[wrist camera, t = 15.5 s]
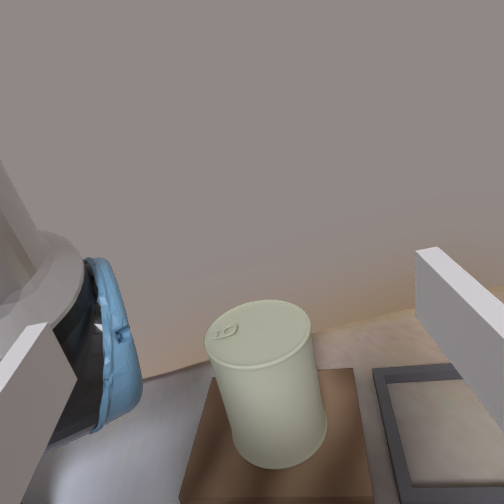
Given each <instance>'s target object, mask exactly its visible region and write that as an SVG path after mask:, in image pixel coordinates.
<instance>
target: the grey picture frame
mask: <svg viewBox="0 0 504 504" xmlns="http://www.w3.org/2000/svg"><path fill="white" fill-rule="evenodd" d="M372 370H373V379H374V383H375V388H376V393H377V397H378V402H379V406H380V411H381V416H382V420H383V425H384V429H385V434H386V438H387V443H388V448H389V452H390V457H391V461H392V466H393V471H394V475H395V480H396V484H397V489H398V493H399V498H400V503H401V504H504V487H439V488H412V484H411V480H410V476H409V472H408V468H407V464H406V460H405V456H404V452H403V448H402V444H401V441H400V437H399V433H398V429H397V425H396V421H395V417H394V413H393V409H392V405H391V401H390V397H389V393H388V389H387V385H386V383H401V382H418V381H435V380H452V379H463V378H462V377H461V375H460V374H459V373H458V371H457V370H456V369H455V367H454V366H453V365H452V363H450V364H435V365H420V366H405V367H390V368H375V369H372Z"/></svg>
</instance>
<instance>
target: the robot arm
mask: <svg viewBox="0 0 504 504" xmlns="http://www.w3.org/2000/svg"><path fill="white" fill-rule="evenodd" d="M415 253H416V254H415V256H416V257H415V259H416V260H415V262H416V264H415V270H416V271H415V274H416V275H415V276H416V277H415V315H416V317H417V318H418V319H419V321H420V322H421V323H422V325H423V326H424V327H425V329H426V330H427V331H428V333H429V334H430V335H431V337H432V338H433V339H434V341H435V342H436V343H437V345H438V346H439V347H440V349H441V350H442V351H443V353H444V354H445V355H446V357H447V358H448V359H449V361H450V362H451V363H452V365H453V366H454V367H455V369H456V370H457V371H458V373H459V374H460V375H461V377H462V378H463V379H464V381H465V382H466V383H467V385H468V386H469V387H470V389H471V390H472V391H473V393H474V394H475V395H476V397H477V398H478V399H479V401H480V402H481V403H482V405H483V406H484V407H485V409H486V410H487V411H488V413H489V414H490V415H491V417H492V418H493V419H494V421H495V422H496V423H497V425H498V426H499V427H500V429H501V430H502V431H503V433H504V304H503V303H502V302H500V301H499V300H498V299H497V298H496V297H495V296H493V295H492V294H491V293H490V292H489V291H488V290H487V289H485V288H484V287H483V286H482V285H481V284H480V283H479V282H477V281H476V280H475V279H474V278H473V277H472V276H471V275H469V274H468V273H467V272H466V271H465V270H464V269H462V268H461V267H460V266H459V265H458V264H457V263H456V262H454V261H453V260H452V259H451V258H450V257H449V256H448V255H446V254H445V253H444V252H443V251H442V250H441V249H439V248H438V247H433V248H428V249H423V250H417V251H415ZM129 330H130V326H129V323H128V320H127V314H126V310H125V307H124V303H123V300H122V297H121V293H120V290H119V287H118V284H117V281H116V278H115V275H114V273H113V270H112V267H111V265H110V263H109V262H108V261H107V260H106V259H104V258H89V257H88V258H86V259H84V260H83V259H82V257H81V255H80V253H79V252H78V250H77V249H76V248H75V247H74V245H73V244H72V243H71V242H70V241H68V240H67V239H65V238H64V237H62V236H59V235H57V234H54V233H50V232H47V231H41V230H37V228H36V226H35V224H34V222H33V221H32V219H31V217H30V215H29V213H28V211H27V209H26V208H25V206H24V204H23V202H22V200H21V198H20V196H19V194H18V193H17V191H16V189H15V187H14V186H13V183H12V182H11V180H10V178H9V176H8V174H7V172H6V170H5V168H4V166H3V165H2V163H1V161H0V504H22V502H21V501H22V499H23V496H24V494H25V492H26V490H27V488H28V486H29V483H30V481H31V479H32V477H33V475H34V473H35V470H36V468H37V466H38V464H39V462H40V460H41V457H42V455H43V454H45V453H47V452H49V451H51V450H54V449H56V448H58V447H60V446H62V445H65V444H67V443H69V442H71V441H73V440H76V439H78V438H80V437H82V436H84V435H87V434H89V433H90V434H92V433H95V432H98V431H99V430H100V429H101V428H102V427H103V426H104V425H105V424H107V423H109V422H111V421H113V420H115V419H116V418H118V417H120V416H122V415H124V414H126V413H128V412H129V411H131V410H132V409H133V408H134V407H135V406H136V405H137V404H138V402H139V400H140V398H141V395H142V391H143V383H142V376H141V370H140V366H139V361H138V356H137V352H136V348H135V344H134V341H133V337H132V334H131V333H130V331H129Z"/></svg>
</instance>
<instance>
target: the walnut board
mask: <svg viewBox="0 0 504 504" xmlns="http://www.w3.org/2000/svg"><path fill="white" fill-rule="evenodd" d="M317 374H318V380H319V386H320V392H321V397H322V403H323V408H324V410H325V413H326V416H327V433H326V436H325V439H324V441H323V443H322V445H321V446H320V448H319V449H318V450H317V452H316V453H315V454H314V455H313V456H311V457H310V458H309V459H307V460H306V461H304V462H303V463H301V464H299V465H296V466H294V467H290V468H286V469H276V470H273V469H265V468H261V467H258V466H255V465H253V464H251V463H249V462H248V461H247V460H245V459H244V458H243V457H242V456H241V455H240V454H239V452H238V451H237V449H236V447H235V445H234V442H233V438H232V430H231V426H230V423H229V419H228V416H227V413H226V409H225V406H224V403H223V400H222V396H221V393H220V390H219V387H218V384H217V381H216V378H215V377H213V378H212V381H211V385H210V388H209V392H208V395H207V399H206V402H205V406H204V409H203V413H202V416H201V420H200V423H199V427H198V430H197V434H196V437H195V441H194V444H193V448H192V451H191V455H190V458H189V462H188V466H187V469H186V473H185V476H184V480H183V483H182V487H181V490H180V494H179V497H178V498H179V500H180V502H181V504H374V499H373V492H372V485H371V479H370V473H369V467H368V460H367V454H366V448H365V441H364V435H363V429H362V423H361V416H360V410H359V404H358V397H357V391H356V385H355V379H354V372H353V368H347V369H332V370H317Z"/></svg>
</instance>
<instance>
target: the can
mask: <svg viewBox="0 0 504 504" xmlns="http://www.w3.org/2000/svg"><path fill="white" fill-rule="evenodd" d="M204 346H205V350H206V352H207V354H208V356H209V359H210V362H211V365H212V368H213V371H214V374H215V378H216V381H217V384H218V387H219V390H220V393H221V396H222V400H223V403H224V406H225V409H226V413H227V416H228V419H229V423H230V426H231V430H232V438H233V442H234V445H235V447H236V449H237V451H238V452H239V454H240V455H241V456H242V457H243V458H244V459H245V460H247V461H248V462H249V463H251V464H253V465H255V466H258V467H261V468H265V469H273V470H276V469H286V468H290V467H294V466H296V465H299V464H301V463H303V462H304V461H306V460H307V459H309V458H310V457H311V456H313V455H314V454H315V453H316V452H317V450H318V449H319V448H320V446H321V445H322V443H323V441H324V439H325V436H326V433H327V416H326V413H325V410H324V408H323V403H322V397H321V392H320V386H319V380H318V374H317V367H316V361H315V355H314V348H313V341H312V334H311V322H310V319H309V317H308V315H307V314H306V312H305V311H304V310H302V309H301V308H300V307H298V306H297V305H295V304H292V303H290V302H286V301H281V300H259V301H253V302H249V303H245V304H242V305H239V306H237V307H235V308H232V309H231V310H229V311H227V312H225V313H224V314H222V315H221V316H220V317H218V318H217V319H216V320H215V321H214V322H213V323H212V324H211V326H210V327H209V329H208V331H207V333H206V336H205V340H204Z"/></svg>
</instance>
